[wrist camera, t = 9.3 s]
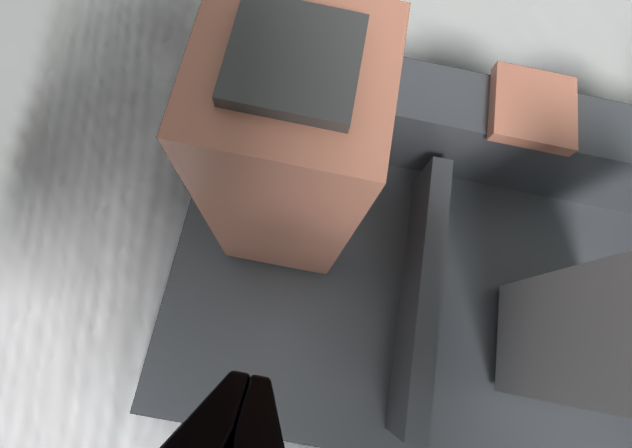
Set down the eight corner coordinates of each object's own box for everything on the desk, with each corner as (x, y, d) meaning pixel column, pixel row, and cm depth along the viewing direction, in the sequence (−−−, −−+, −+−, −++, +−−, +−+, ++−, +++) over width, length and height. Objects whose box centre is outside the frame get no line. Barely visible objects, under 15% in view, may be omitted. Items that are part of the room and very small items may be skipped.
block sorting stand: (881, 541, 17) (1162, 632, 11) (140, 408, 16) (70, 439, 10) (816, 211, 21) (999, 166, 15) (229, 91, 20) (211, 0, 15)
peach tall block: (326, 274, 16) (390, 177, 7) (226, 255, 16) (151, 128, 7) (342, 182, 17) (415, -10, 8) (249, 163, 17) (212, -53, 8)
